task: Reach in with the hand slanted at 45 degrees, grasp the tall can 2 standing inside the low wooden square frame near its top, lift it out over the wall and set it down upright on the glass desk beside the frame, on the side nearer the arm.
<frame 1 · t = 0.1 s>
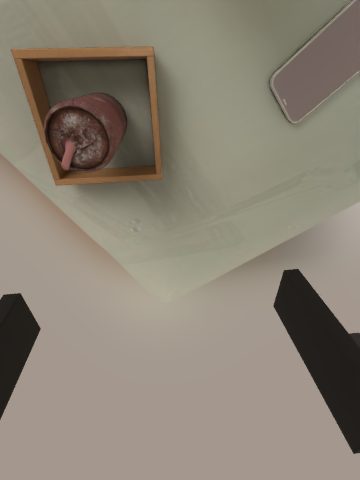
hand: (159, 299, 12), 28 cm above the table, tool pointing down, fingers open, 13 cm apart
wooden square frame: (103, 120, 32), on the table
can 2: (104, 119, 32), resting in wooden square frame
smartphone: (328, 59, 31), on the table
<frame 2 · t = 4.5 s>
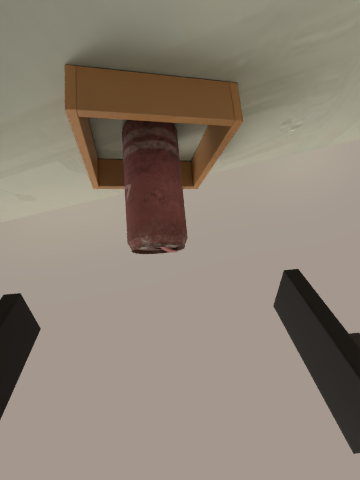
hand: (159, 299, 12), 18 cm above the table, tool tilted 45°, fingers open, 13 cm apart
wooden square frame: (150, 129, 27), on the table
can 2: (150, 128, 27), resting in wooden square frame
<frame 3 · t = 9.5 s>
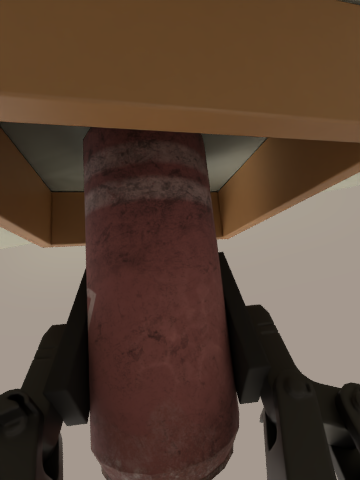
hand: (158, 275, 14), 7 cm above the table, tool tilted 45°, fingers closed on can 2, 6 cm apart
wooden square frame: (147, 143, 13), on the table
can 2: (146, 140, 13), resting in wooden square frame, touching gripper
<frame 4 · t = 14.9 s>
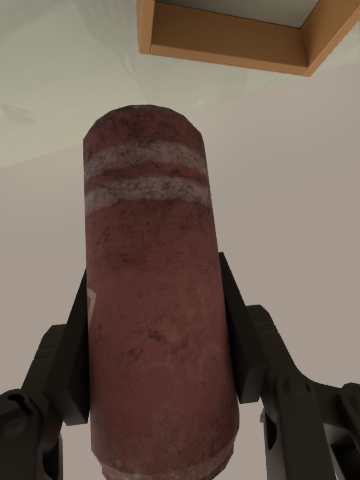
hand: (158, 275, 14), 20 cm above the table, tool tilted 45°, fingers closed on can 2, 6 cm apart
can 2: (146, 140, 13), point 13 cm above the table, touching gripper
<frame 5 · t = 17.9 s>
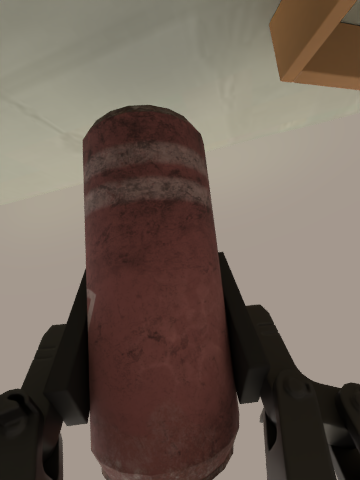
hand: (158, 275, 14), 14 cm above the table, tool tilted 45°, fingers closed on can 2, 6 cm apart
can 2: (146, 140, 13), point 7 cm above the table, touching gripper
when the fingers open (7 cm above the table, at t = 20.3 s): can 2 stays where it is, on the table.
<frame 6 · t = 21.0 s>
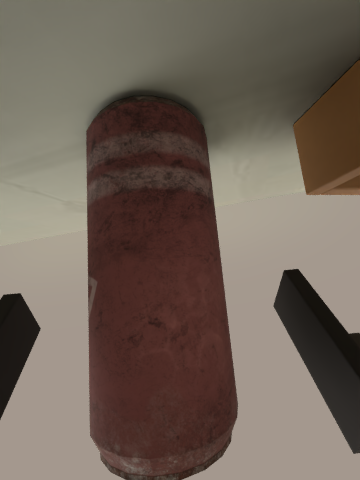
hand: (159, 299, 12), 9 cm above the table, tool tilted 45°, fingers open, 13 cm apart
can 2: (149, 133, 13), on the table
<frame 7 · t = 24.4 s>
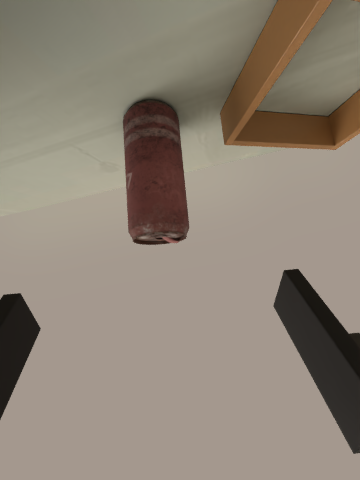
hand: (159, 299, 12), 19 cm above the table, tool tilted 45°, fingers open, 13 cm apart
wooden square frame: (325, 60, 21), on the table
can 2: (151, 117, 27), on the table
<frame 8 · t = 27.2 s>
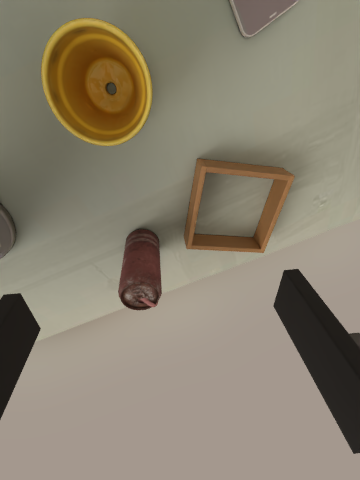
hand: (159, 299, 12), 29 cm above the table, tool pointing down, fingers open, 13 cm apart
wooden square frame: (230, 204, 42), on the table
can 2: (143, 241, 45), on the table
flower pot: (112, 87, 31), on the table
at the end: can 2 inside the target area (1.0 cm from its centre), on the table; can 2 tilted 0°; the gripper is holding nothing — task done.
